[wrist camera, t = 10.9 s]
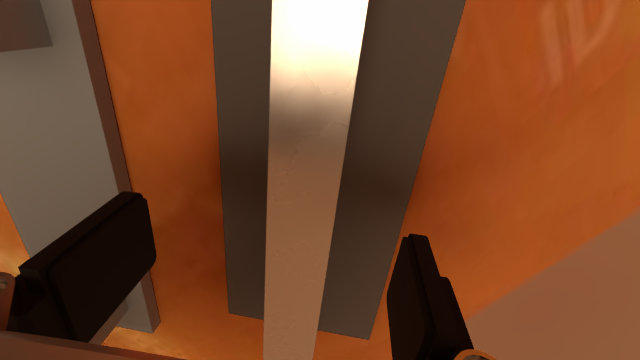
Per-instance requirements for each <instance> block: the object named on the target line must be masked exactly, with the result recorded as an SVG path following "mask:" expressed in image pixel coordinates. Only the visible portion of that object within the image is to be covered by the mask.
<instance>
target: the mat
mask: <svg viewBox="0 0 640 360" xmlns="http://www.w3.org/2000/svg"><path fill="white" fill-rule="evenodd" d="M465 2H466V0H369V1H368V8H367V14H366V21H365V27H364V34H363V40H362V46H361V53H360V59H359V66H358V72H357V79H356V85H355V92H354V98H353V104H352V111H351V117H350V124H349V130H348V137H347V143H346V150H345V156H344V162H343V169H342V175H341V182H340V188H339V195H338V201H337V208H336V214H335V220H334V227H333V233H332V240H331V246H330V253H329V259H328V265H327V272H326V278H325V285H324V291H323V298H322V304H321V311H320V317H319V323H318V330H319V331H325V332H330V333H335V334H340V335H346V336H351V337H356V338H361V339H367V340H369V338H370V335H371V331H372V328H373V324H374V321H375V317H376V314H377V310H378V307H379V303H380V300H381V296H382V293H383V289H384V286H385V282H386V279H387V275H388V272H389V268H390V265H391V261H392V258H393V254H394V251H395V247H396V244H397V240H398V237H399V233H400V230H401V226H402V223H403V219H404V216H405V212H406V209H407V205H408V202H409V198H410V195H411V191H412V188H413V184H414V181H415V177H416V174H417V170H418V167H419V163H420V159H421V156H422V152H423V149H424V145H425V142H426V138H427V135H428V131H429V128H430V124H431V121H432V117H433V114H434V110H435V107H436V103H437V100H438V96H439V93H440V89H441V86H442V82H443V79H444V75H445V72H446V68H447V65H448V61H449V58H450V54H451V51H452V47H453V44H454V40H455V37H456V33H457V30H458V26H459V23H460V19H461V16H462V12H463V9H464V5H465ZM211 11H212V28H213V46H214V63H215V81H216V98H217V116H218V133H219V151H220V168H221V186H222V203H223V221H224V239H225V256H226V274H227V291H228V309H229V313H230V314H235V315H241V316H246V317H251V318H256V319H262V320H264V302H265V263H266V224H267V185H268V147H269V108H270V69H271V30H272V0H211Z"/></svg>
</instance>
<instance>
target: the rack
mask: <svg viewBox="0 0 640 360" xmlns="http://www.w3.org/2000/svg"><path fill="white" fill-rule="evenodd" d="M123 191H128V192H132V191H131V186H130V182H129V177H128V172H127V168H126V163H125V159H124V154H123V150H122V145H121V141H120V136H119V132H118V127H117V122H116V118H115V113H114V109H113V104H112V100H111V95H110V91H109V86H108V82H107V77H106V72H105V68H104V63H103V59H102V54H101V50H100V45H99V41H98V36H97V32H96V27H95V22H94V18H93V13H92V9H91V4H90V0H0V193H1V195H2V197H3V199H4V202H5V204H6V206H7V208H8V210H9V213H10V215H11V217H12V219H13V221H14V224H15V226H16V228H17V230H18V232H19V234H20V237H21V239H22V241H23V243H24V245H25V248H26V250H27V252H28V254H29V256H30V258H31V257H33V256H34V255H35V254H37V253H38V252H40V251H41V250H42V249H44V248H45V247H46V246H48V245H49V244H51V243H52V242H53V241H55V240H56V239H57V238H59V237H60V236H62V235H63V234H64V233H66V232H67V231H68V230H70V229H71V228H73V227H74V226H75V225H77V224H78V223H79V222H81V221H82V220H83V219H85V218H86V217H88V216H89V215H90V214H92V213H93V212H94V211H96V210H97V209H99V208H100V207H101V206H103V205H104V204H105V203H107V202H108V201H110V200H111V199H112V198H114V197H115V196H116V195H118V194H119V193H121V192H123ZM159 324H160V318H159V313H158V309H157V304H156V300H155V295H154V291H153V286H152V282H151V277H150V273H149V271H148V272H147V273H146V274H145V275H144V277H143V278H142V279H141V280H140V281H139V283H138V284H137V285H136V286H135V288H134V289H133V290H132V291H131V292H130V294H129V295H128V296H127V297H126V298H125V300H124V301H123V302H122V303H121V304H120V306H119V307H118V308H117V309H116V310H115V312H114V313H113V314H112V315H111V316H110V318H109V319H108V320H107V321H106V322H105V324H104V325H103V326H102V327H101V328H100V330H99V331H98V332H97V333H96V334H95V336H94V337H93V338H92V339H91V340H90V341H89V342H88V343H91V344H97V345H101V344H102V342H103V341H104V340H105V339H106V337H107V336H108V335H109V334H110V332H111V331H112V330H113V329H114V328H115V326H117V327H122V328H127V329H132V330H137V331H143V332H148V333H154V331H155V330H156V328H157V327H158V325H159Z"/></svg>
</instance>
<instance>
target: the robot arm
mask: <svg viewBox="0 0 640 360" xmlns="http://www.w3.org/2000/svg"><path fill="white" fill-rule="evenodd" d="M155 261H156V249H155V244H154V238H153V232H152V226H151V221H150V215H149V209H148V204H147V200H146V199H145V198H143V196H142V194H140V193H135V192H128V191H123V192H121V193H119V194H118V195H116V196H115V197H114V198H112V199H111V200H110V201H108V202H107V203H105V204H104V205H103V206H101V207H100V208H99V209H97V210H96V211H94V212H93V213H92V214H90V215H89V216H88V217H86V218H85V219H83V220H82V221H81V222H79V223H78V224H77V225H75V226H74V227H73V228H71V229H70V230H68V231H67V232H66V233H64V234H63V235H62V236H60V237H59V238H57V239H56V240H55V241H53V242H52V243H51V244H49V245H48V246H46V247H45V248H44V249H42V250H41V251H40V252H38V253H37V254H35V255H34V256H33V257H31V258H30V259H29V260H27V261H26V262H25V263H23V264H22V265H20V266H19V267H18V268H19V271H20V274H19V275H18V276H16V277H14V276H12V275H11V274H9V273H5V272H0V360H186V359H180V358H174V357H168V356H162V355H156V354H150V353H145V352H139V351H133V350H127V349H121V348H115V347H109V346H103V345H97V344H91V343H88V342H89V341H90V340H91V339H92V338H93V337H94V336H95V334H96V333H97V332H98V331H99V330H100V328H101V327H102V326H103V325H104V324H105V322H106V321H107V320H108V319H109V318H110V316H111V315H112V314H113V313H114V312H115V310H116V309H117V308H118V307H119V306H120V304H121V303H122V302H123V301H124V300H125V298H126V297H127V296H128V295H129V294H130V292H131V291H132V290H133V289H134V288H135V286H136V285H137V284H138V283H139V281H140V280H141V279H142V278H143V277H144V275H145V274H146V273H147V272H148V271H149V269H150V268H151V267H152V266H153V265H154V263H155ZM387 310H388V319H389V329H390V338H391V348H392V357H393V360H496V359H495V358H494V357H492V356H490V355H489V354H487V353H484V352H482V351H479V350H474V347H473V345H472V342H471V339H470V336H469V334H468V331H467V328H466V325H465V322H464V319H463V317H462V314H461V311H460V308H459V305H458V302H457V300H456V297H455V294H454V291H453V288H452V286H451V283H450V281H449V279H448V278H447V277H441V276H440V274H439V271H438V268H437V265H436V262H435V259H434V256H433V253H432V250H431V247H430V243H429V240H428V238H427V236H423V235H417V234H409V236H408V237H403V239H402V242H401V246H400V249H399V253H398V256H397V260H396V263H395V267H394V270H393V274H392V277H391V281H390V284H389V288H388V291H387Z"/></svg>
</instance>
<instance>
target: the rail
mask: <svg viewBox="0 0 640 360" xmlns="http://www.w3.org/2000/svg"><path fill="white" fill-rule="evenodd" d="M368 1H369V0H272V30H271V69H270V108H269V147H268V185H267V224H266V263H265V302H264V340H263V360H313V355H314V348H315V342H316V336H317V330H318V323H319V317H320V311H321V304H322V298H323V291H324V285H325V278H326V272H327V265H328V259H329V253H330V246H331V240H332V233H333V227H334V220H335V214H336V208H337V201H338V195H339V188H340V182H341V175H342V169H343V162H344V156H345V150H346V143H347V137H348V130H349V124H350V117H351V111H352V104H353V98H354V92H355V85H356V79H357V72H358V66H359V59H360V53H361V46H362V40H363V34H364V27H365V21H366V14H367V8H368Z"/></svg>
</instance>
